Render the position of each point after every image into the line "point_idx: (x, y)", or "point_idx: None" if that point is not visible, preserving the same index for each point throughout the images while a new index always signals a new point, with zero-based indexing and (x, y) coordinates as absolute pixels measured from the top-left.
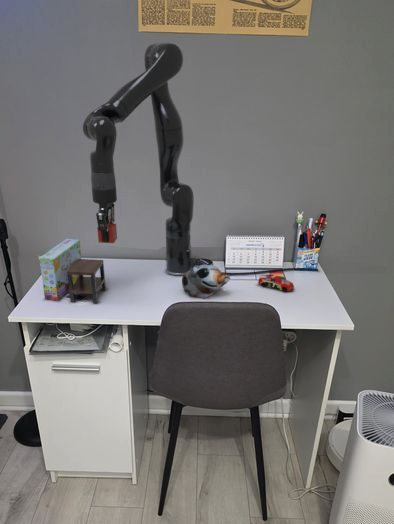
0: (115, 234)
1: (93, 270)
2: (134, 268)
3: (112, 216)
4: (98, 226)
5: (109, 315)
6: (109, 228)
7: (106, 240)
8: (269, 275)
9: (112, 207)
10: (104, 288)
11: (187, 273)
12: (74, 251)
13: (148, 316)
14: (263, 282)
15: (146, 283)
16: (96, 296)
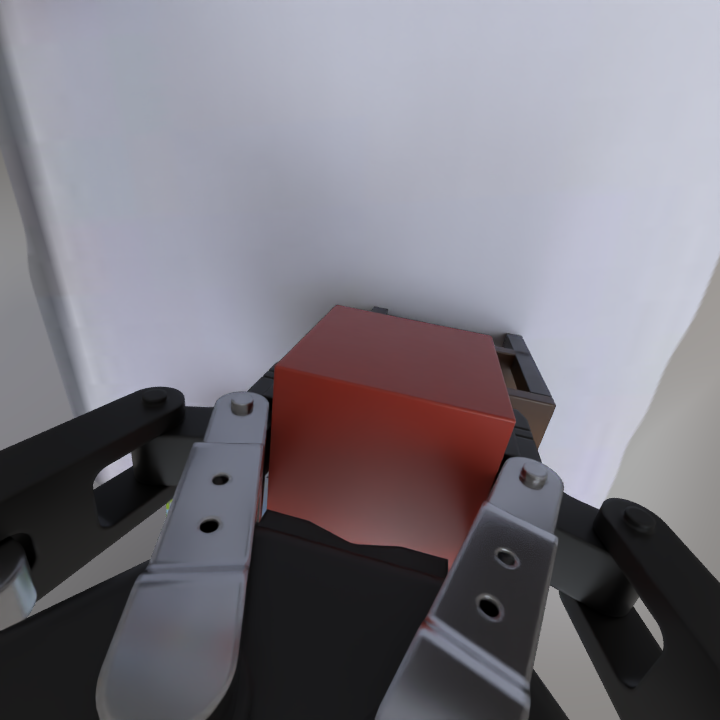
0: (384, 335)
1: (515, 407)
2: (138, 187)
3: (258, 490)
4: (650, 657)
5: (669, 277)
6: (499, 457)
7: (519, 419)
8: None
9: (138, 715)
10: (386, 314)
11: None
12: (264, 501)
13: None
14: None
15: (308, 106)
16: (526, 347)
